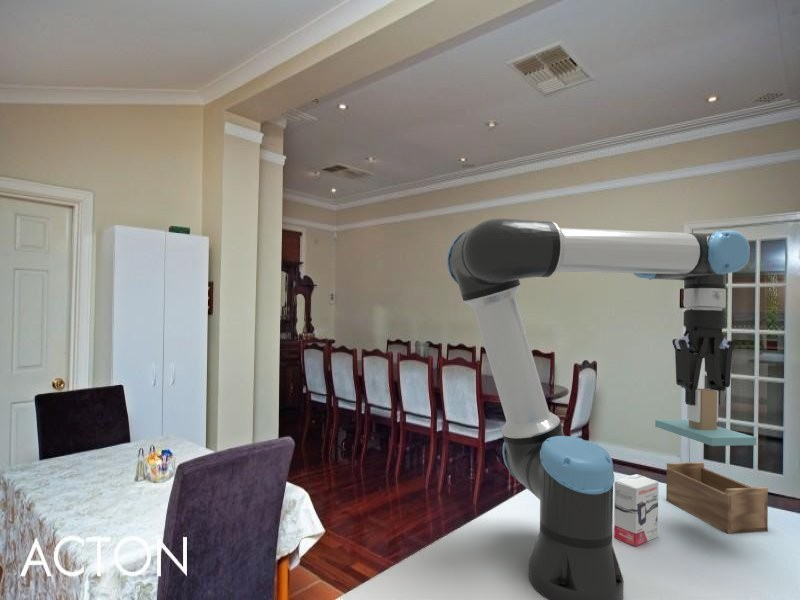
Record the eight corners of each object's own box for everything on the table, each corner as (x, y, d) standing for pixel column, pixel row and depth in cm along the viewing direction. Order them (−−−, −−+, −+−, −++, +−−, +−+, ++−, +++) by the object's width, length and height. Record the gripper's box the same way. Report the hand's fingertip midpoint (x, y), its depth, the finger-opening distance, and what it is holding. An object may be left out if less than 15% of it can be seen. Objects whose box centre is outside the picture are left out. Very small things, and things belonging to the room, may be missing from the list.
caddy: (727, 533, 101) (727, 490, 101) (666, 500, 119) (666, 463, 119) (767, 531, 103) (767, 488, 103) (701, 498, 121) (701, 462, 121)
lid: (712, 445, 91) (712, 396, 92) (655, 426, 107) (656, 384, 107) (756, 445, 93) (756, 396, 93) (694, 426, 108) (694, 384, 109)
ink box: (636, 547, 94) (636, 487, 94) (612, 537, 98) (613, 480, 99) (659, 537, 99) (659, 480, 99) (635, 528, 103) (636, 473, 103)
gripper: (683, 307, 95) (681, 425, 95) (753, 310, 98) (752, 424, 98) (657, 308, 103) (654, 417, 102) (722, 310, 106) (721, 416, 105)
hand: (702, 420), depth 100 cm, fingers closed on lid, 3 cm apart
